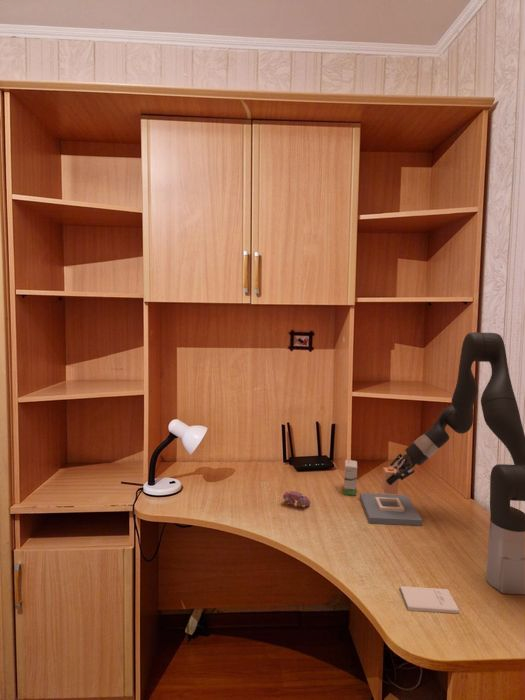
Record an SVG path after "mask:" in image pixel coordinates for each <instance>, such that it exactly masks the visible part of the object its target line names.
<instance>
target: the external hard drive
mask: <svg viewBox="0 0 525 700" xmlns="http://www.w3.org/2000/svg"><path fill="white" fill-rule="evenodd" d="M399 592H400V594H401V595H402V599H403V603H404V605H405V607H406V610H407V611H411V612H412V611H415V612H426V613H427V612H429V613H430V612H431V613H444V614H458V613H459V614H460V609H459V606H458V605H457V604H456V602H455V600H454V598H453V596H452V594H451V593H450V591H449V589H447V588H437V587H436V588H433V587H419V586H405V585H403V586H402V585H399Z"/></svg>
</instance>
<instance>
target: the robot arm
mask: <svg viewBox="0 0 525 700" xmlns="http://www.w3.org/2000/svg"><path fill="white" fill-rule="evenodd" d="M506 353H507V352H506V346H505V343H504V338H503V337H502V336H501V334H498V333H497V332H479V331H478V332H475V331H474V332H469V333H467V334H466V335H465V337H464V338H463V341H462V346H461V350H460V356H459V357H460V358H459V366H458V373H457V381H456V385H455V388H454V391H453V394H452V397H451V405H449V406H446V407H445V408H444V409H443V410H442V411H441V413H440V415H439V416H438V418H437V419H436V421H435V422H434V424H433V425H432V427H430V428H429V429H427V431H426V432H424V433H423V434H422V435H420V436H419V437H417V438H416V439H415V440H414V441H413V442H412V443H411V444H409V445H408V446H407V447H406V448H405V449H404V451H405V454H403V455H402V453H399V454H397V456H396V457H395V458H394V459H393V461H392V462H391V463H390V464H389V466H390V467H393V468H396V469H397V471H396V472H395V473H394V474H393V475H392V476H390V477H389V478H388V479H387V480H386V481H387V483H388V484H389V485H392V484H393V483H394V482H395V481H396V480H397V479H398V480H401V481H403V480H405V479H406V478H409V476H411V475H412V474H414V473H415V472H416V471H415V469H414V468H415V465H417V466H422V465H423V464H424V463H425V462H426V461H427V460H428V459H430V458H431V457H432V456H433V455H435V453H437V451H438V450H439V449H440V448H441V447H443V446H444V445H445V444H446V443H447V442H448V441H449V440H450V436H449V434H448V433H447V431H446V427H447V425H448V426H449V427H450V428H451V429H452V430H453V431H454V432H456V433H457V434H462V435H463V434H467V433H468V432H469V431H470V429H472V428H473V427H472V426H473V423H474V405H475V403H476V399H477V396H478V392H479V387H478V383H477V380H476V378H475V377H474V373H473V371H472V365H473V363H474V362H482V363H483V362H485V363H489V364H490V368H491V375H490V378H489V380H488V382H487V384H486V386H485V388H484V390H483V392H482V395H481V397H480V405H481V406H480V407H481V410H482V415H483V419H484V422H485V424H486V425H487V427H488V428H489V430H490V431H491V432H492V433H493V434H494V435H495V436H496V437H497V439H498V440H500V442H501V443H502V444H503V445H504V446H505V448H506V449H507V451H508V452H509V454H510V456H511V458H512V462H513V464H505V463H504V464H501V463H500V464H498V463H497V464H494V466H493V467H492V469H491V471H490V477H489V480H490V481H489V484H490V485H489V512H490V513H489V515H490V517H489V529H488V545H487V556H486V572H485V580H486V582H487V583H488V584H489V585H490V586H491V587H492V588H494V589H496V590H498V591H499V592H500V593H501V594H509V595H510V594H511V595H525V512H524V511H522V510H520V509H518V508H515V507H513V506H512V505H511V501H516V502H517V501H518V502H525V432H524V427H523V423H522V419H521V414H520V410H519V409H520V408H519V405H518V402H517V398H516V396H515V393H514V389H513V384H512V380H511V376H510V371H509V366H508V365H509V364H508V358H507V354H506Z"/></svg>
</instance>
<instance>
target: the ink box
mask: <svg viewBox="0 0 525 700" xmlns="http://www.w3.org/2000/svg"><path fill="white" fill-rule="evenodd" d="M344 460H345V461H344V462H345V464H344V478H343V480H344V481H343V495H344V496H353V497H354V496H355V497H356V496H357V483H358V461H357V460H352V459H344Z"/></svg>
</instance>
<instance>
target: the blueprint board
mask: <svg viewBox="0 0 525 700" xmlns="http://www.w3.org/2000/svg"><path fill="white" fill-rule="evenodd" d="M359 500H360V502H361V504H362V508H363V511H364V513H365V515H366V517H367V520H368V523H369V524H379V525H398V526H399V525H400V526H415V527H417V526H418V527H419V526H420V527H423V519H422V517H421V515H420V514H419V513H418V511H417V509H416V508H415V506H414V504H413V503H412V501H411V500H410V498H409V496H408V495H407V494H387V493H367V492H365V493H362V492H360V493H359Z"/></svg>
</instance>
